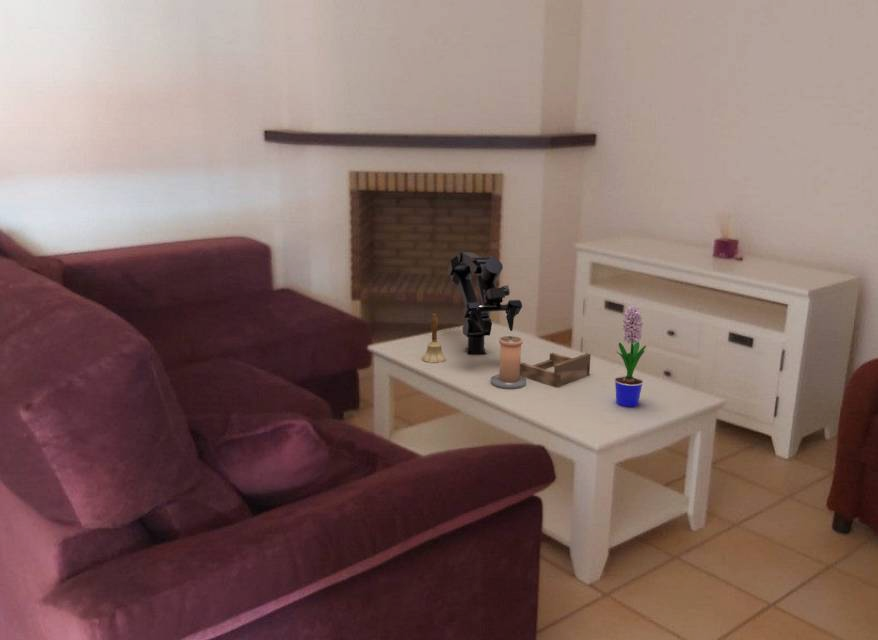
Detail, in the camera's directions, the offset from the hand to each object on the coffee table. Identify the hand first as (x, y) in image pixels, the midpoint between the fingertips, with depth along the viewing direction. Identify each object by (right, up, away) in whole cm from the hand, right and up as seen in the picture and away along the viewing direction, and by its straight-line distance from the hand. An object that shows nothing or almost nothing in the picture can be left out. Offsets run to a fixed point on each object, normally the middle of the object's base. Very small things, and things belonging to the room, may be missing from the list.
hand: (498, 331), depth 273 cm
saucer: (+3, -16, -7) cm, 18 cm away
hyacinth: (+37, -21, -22) cm, 48 cm away
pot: (+3, -15, -7) cm, 17 cm away
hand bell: (-21, -10, +15) cm, 27 cm away
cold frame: (+18, -14, +1) cm, 23 cm away
